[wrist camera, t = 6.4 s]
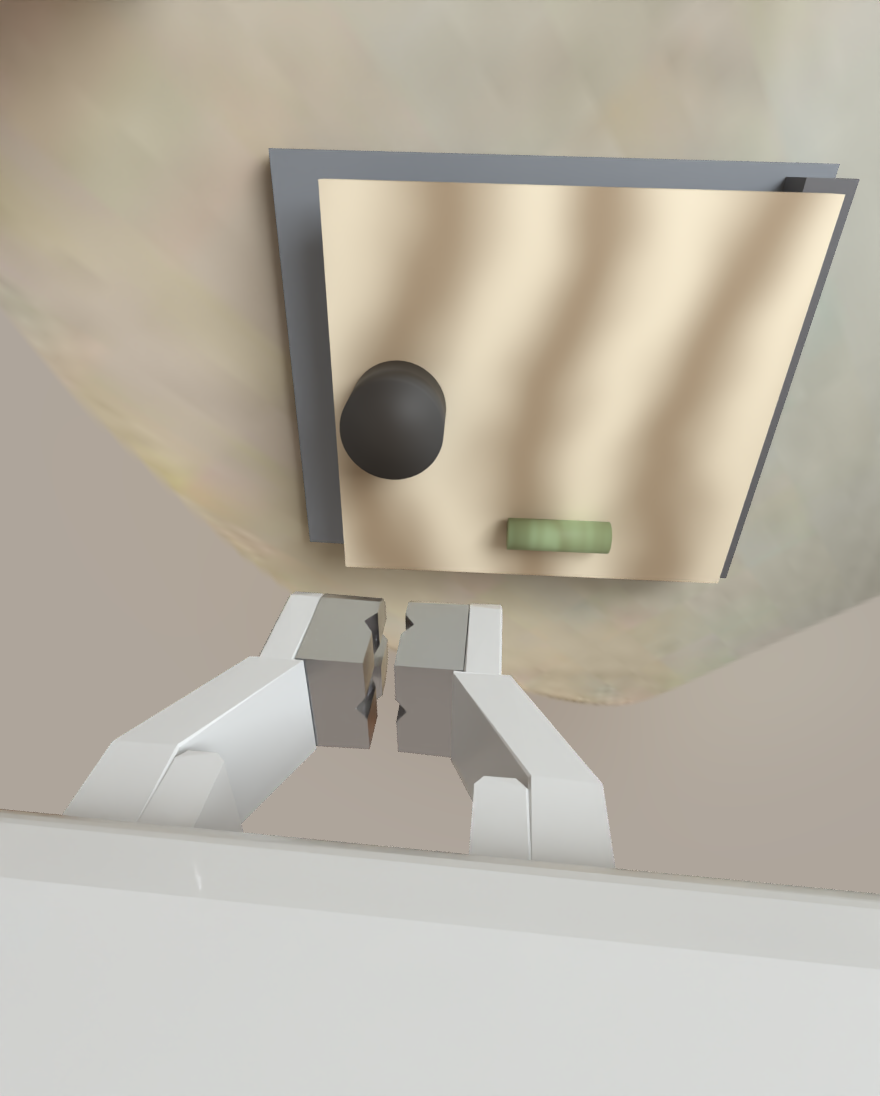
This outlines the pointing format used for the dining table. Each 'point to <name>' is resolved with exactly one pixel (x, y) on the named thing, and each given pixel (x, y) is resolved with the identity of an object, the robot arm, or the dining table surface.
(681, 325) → the plate
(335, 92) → the dining table surface
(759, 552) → the dining table surface
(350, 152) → the base
